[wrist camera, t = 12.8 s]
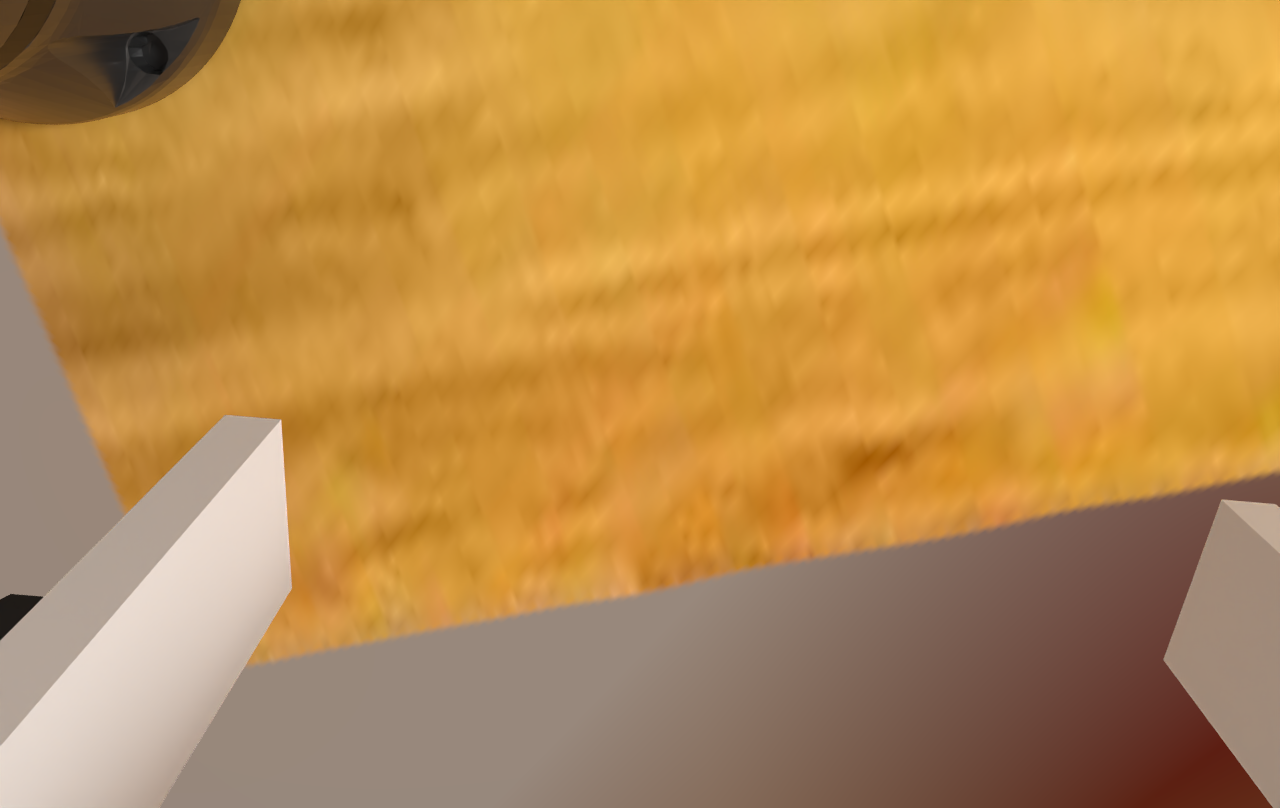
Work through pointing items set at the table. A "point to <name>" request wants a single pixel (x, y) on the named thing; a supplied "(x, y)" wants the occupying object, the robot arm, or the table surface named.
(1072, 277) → the table surface
